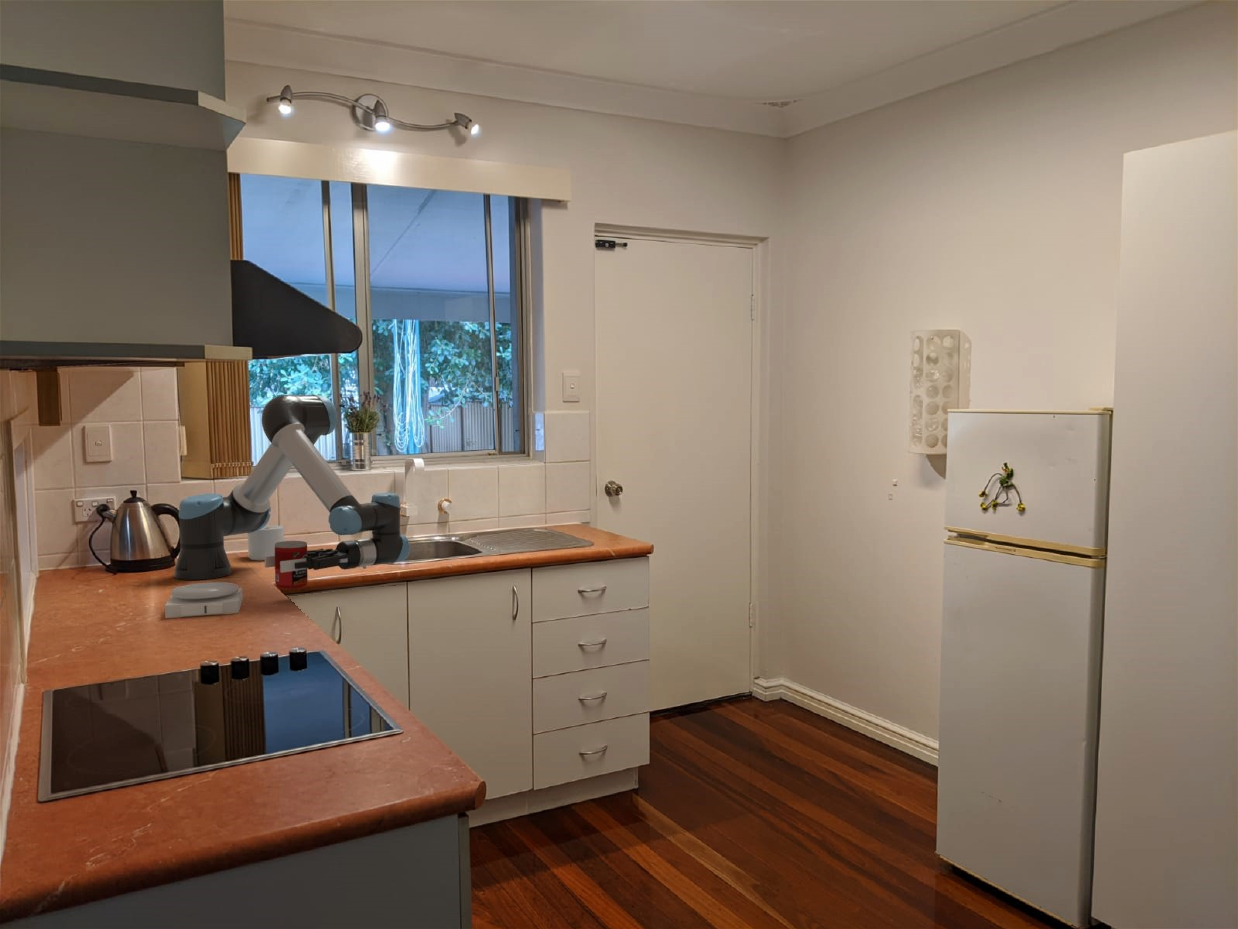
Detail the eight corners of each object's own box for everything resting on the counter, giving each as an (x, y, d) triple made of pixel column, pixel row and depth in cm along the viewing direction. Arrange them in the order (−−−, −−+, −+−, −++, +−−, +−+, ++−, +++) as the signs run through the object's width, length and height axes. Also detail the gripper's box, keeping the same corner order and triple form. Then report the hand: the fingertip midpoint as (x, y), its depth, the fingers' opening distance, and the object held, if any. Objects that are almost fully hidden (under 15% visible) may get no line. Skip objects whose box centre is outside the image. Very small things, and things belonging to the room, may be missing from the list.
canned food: (297, 589, 232) (297, 546, 231) (268, 587, 233) (268, 544, 233) (313, 583, 239) (313, 541, 238) (285, 581, 241) (285, 540, 240)
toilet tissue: (280, 560, 296) (279, 529, 296) (241, 561, 295) (240, 530, 294) (287, 554, 307) (287, 525, 306) (250, 555, 305) (249, 525, 305)
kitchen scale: (174, 604, 233) (173, 584, 233) (242, 599, 238) (242, 580, 238) (164, 619, 217) (163, 598, 217) (238, 614, 222) (237, 593, 222)
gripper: (375, 573, 242) (292, 585, 226) (335, 562, 256) (255, 573, 240) (375, 545, 241) (292, 555, 225) (335, 535, 256) (254, 544, 239)
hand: (273, 564), depth 232 cm, fingers closed on canned food, 8 cm apart
